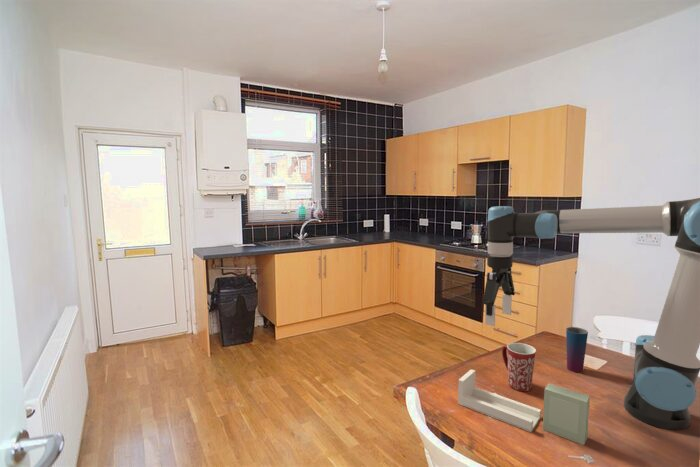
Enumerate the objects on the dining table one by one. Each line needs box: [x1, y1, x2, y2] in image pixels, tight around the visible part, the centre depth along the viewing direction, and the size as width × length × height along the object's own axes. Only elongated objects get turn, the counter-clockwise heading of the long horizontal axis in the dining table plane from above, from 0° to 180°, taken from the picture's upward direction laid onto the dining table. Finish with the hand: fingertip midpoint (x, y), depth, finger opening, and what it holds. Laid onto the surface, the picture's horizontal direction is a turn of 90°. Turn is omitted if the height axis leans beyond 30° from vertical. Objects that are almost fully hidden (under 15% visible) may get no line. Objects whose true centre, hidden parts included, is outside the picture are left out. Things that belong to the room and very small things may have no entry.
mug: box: [501, 342, 537, 392], centre depth 129 cm, size 13×9×14 cm
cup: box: [565, 326, 589, 374], centre depth 138 cm, size 7×7×15 cm
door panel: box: [542, 382, 591, 446], centre depth 102 cm, size 10×4×12 cm, turn 48°
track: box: [457, 369, 542, 433], centre depth 113 cm, size 22×9×8 cm, turn 48°
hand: (498, 319), depth 122 cm, fingers open, 13 cm apart
